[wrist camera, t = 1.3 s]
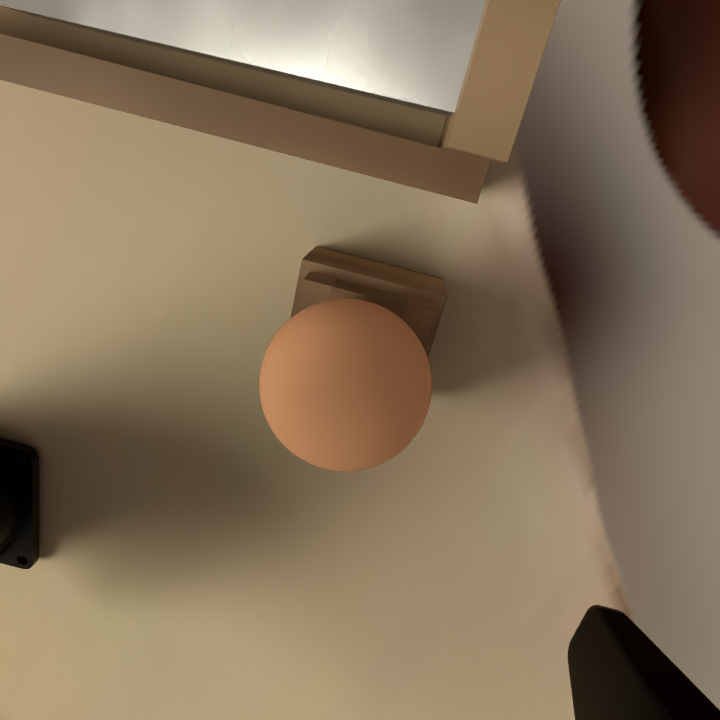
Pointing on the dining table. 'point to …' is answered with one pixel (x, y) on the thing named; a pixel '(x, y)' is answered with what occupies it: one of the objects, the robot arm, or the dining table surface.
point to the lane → (301, 98)
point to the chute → (302, 39)
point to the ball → (345, 384)
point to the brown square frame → (372, 289)
